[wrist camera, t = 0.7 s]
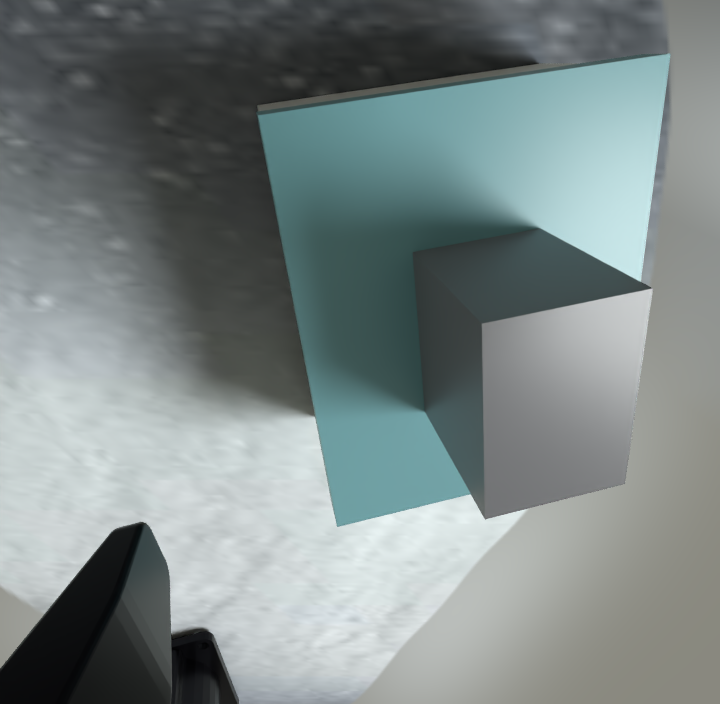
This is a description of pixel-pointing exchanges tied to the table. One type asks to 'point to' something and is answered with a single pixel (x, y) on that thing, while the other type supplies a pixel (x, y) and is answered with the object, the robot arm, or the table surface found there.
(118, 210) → the table surface
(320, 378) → the lid
